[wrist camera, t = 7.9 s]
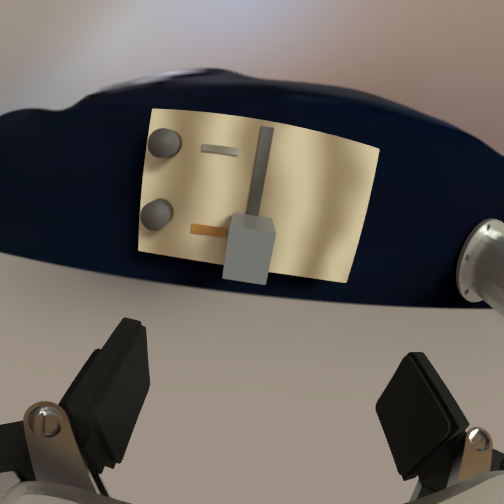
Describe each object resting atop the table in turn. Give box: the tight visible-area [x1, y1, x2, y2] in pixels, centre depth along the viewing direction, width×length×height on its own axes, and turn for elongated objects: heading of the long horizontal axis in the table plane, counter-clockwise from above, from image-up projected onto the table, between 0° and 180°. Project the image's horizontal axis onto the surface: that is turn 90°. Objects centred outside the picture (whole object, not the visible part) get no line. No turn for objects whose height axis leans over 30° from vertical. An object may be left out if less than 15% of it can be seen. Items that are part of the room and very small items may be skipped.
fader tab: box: [222, 212, 276, 285], centre depth 22 cm, size 3×4×4 cm
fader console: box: [138, 109, 379, 283], centre depth 24 cm, size 20×13×6 cm, turn 80°
